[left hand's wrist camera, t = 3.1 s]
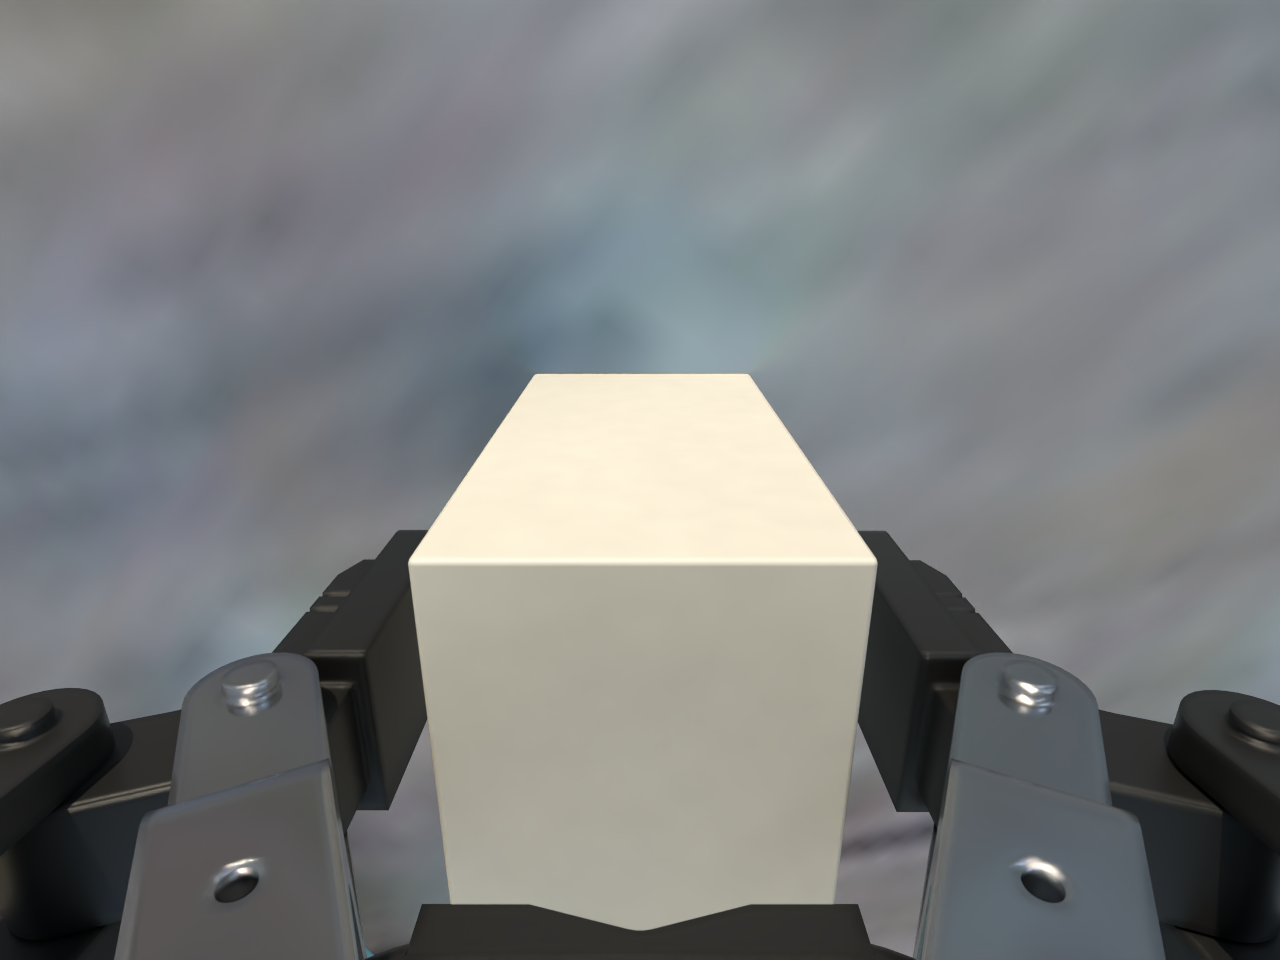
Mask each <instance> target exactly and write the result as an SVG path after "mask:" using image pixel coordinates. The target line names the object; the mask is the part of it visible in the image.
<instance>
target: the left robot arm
mask: <svg viewBox="0 0 1280 960" xmlns="http://www.w3.org/2000/svg"><path fill="white" fill-rule="evenodd" d="M428 531H429V530H399V531H397V532H396V533H395V535H394V536H393V537H392V539H391V540H390V541H389V542H388V544H387V545H386V546H385V548H384V549H383V550H382V551H381V553H380V554H379V555H378V557H377V558H376V559H375V560H363V561H361V562H359V563H357V564H356V565H354V566H352V567H351V568H349V569H347V570H346V571H344V572H342V573H340V574H339V575H337V577H336V578H335V579H334V580H333V581H332V582H331V584H330V585H329V586H328V587H327V588H326V590H325V591H324V592H323V596H322V597H319V598H318V599H317V600H316V601H315V603H314V604H313V605H312V606H311V607H310V612H306V613H305V614H304V616H303V617H302V618H301V619H300V620H299V621H298V623H297V624H296V625H295V626H294V627H293V628H292V630H291V631H290V632H289V633H288V634H287V636H286V637H285V638H284V639H283V640H282V641H281V643H280V644H279V645H278V646H277V647H276V649H275V650H274V651H273V652H272V653H267V654H260V655H255V656H251V657H247V658H243V659H240V660H237V661H234V662H232V663H229V664H227V665H225V666H222V667H220V668H218V669H216V670H215V671H213V672H211V673H209V674H208V675H206V676H205V677H203V678H202V679H201V680H199V681H198V682H197V683H196V684H195V685H194V686H193V687H192V688H191V689H190V690H189V691H188V693H187V695H186V696H185V698H184V701H183V704H182V710H177V711H173V712H168V713H163V714H158V715H152V716H147V717H142V718H137V719H132V720H127V721H121V722H116V723H111V724H110V723H109V720H108V716H107V713H106V710H105V707H104V704H103V700H102V699H101V697H100V696H99V695H98V694H97V693H95V692H93V691H90V690H87V689H80V688H63V689H54V690H48V691H42V692H38V693H34V694H30V695H26V696H23V697H20V698H17V699H14V700H11V701H9V702H6V703H3V704H1V705H0V960H1280V705H1277V704H1274V703H1272V702H1269V701H1266V700H1263V699H1260V698H1256V697H1253V696H1249V695H1245V694H1240V693H1235V692H1229V691H1219V690H1203V691H1197V692H1193V693H1190V694H1188V695H1186V696H1185V697H1184V698H1183V699H1182V701H1181V702H1180V705H1179V708H1178V712H1177V715H1176V718H1175V721H1174V724H1173V725H1172V724H1167V723H1162V722H1157V721H1151V720H1146V719H1141V718H1136V717H1131V716H1126V715H1120V714H1115V713H1111V712H1106V711H1102V710H1099V709H1098V704H1097V701H1096V698H1095V696H1094V695H1093V693H1092V691H1091V690H1090V689H1089V688H1088V687H1087V686H1086V685H1085V684H1084V683H1083V682H1082V681H1081V680H1079V679H1078V678H1077V677H1075V676H1074V675H1072V674H1071V673H1069V672H1067V671H1065V670H1064V669H1062V668H1060V667H1058V666H1055V665H1053V664H1051V663H1048V662H1046V661H1043V660H1040V659H1037V658H1033V657H1029V656H1025V655H1020V654H1013V653H1012V652H1011V650H1010V649H1009V648H1008V647H1007V646H1006V645H1005V643H1004V642H1003V641H1002V640H1001V639H1000V638H999V636H998V635H997V634H996V633H995V632H994V631H993V629H992V628H991V627H990V626H989V625H988V624H987V622H986V621H985V620H984V619H983V618H982V617H981V615H980V614H979V613H975V608H974V607H973V606H972V605H971V604H970V603H969V601H968V600H967V599H966V598H962V593H961V592H960V591H959V590H958V589H957V587H956V586H955V585H954V584H953V583H952V582H951V580H950V579H949V578H948V577H947V576H946V575H944V574H943V573H941V572H939V571H937V570H936V569H934V568H932V567H931V566H929V565H927V564H925V563H924V562H922V561H920V560H909V559H908V558H907V557H906V556H905V554H904V553H903V552H902V550H901V549H900V548H899V547H898V545H897V544H896V543H895V542H894V540H893V539H892V538H891V536H890V535H889V534H888V533H887V532H886V531H857V532H858V533H859V534H860V536H861V537H862V539H863V540H864V542H865V543H866V545H867V546H868V548H869V549H870V550H871V552H872V553H873V555H874V556H875V558H876V560H877V563H878V565H877V573H876V581H875V589H874V597H873V604H872V612H871V620H870V628H869V636H868V644H867V652H866V660H865V668H864V675H863V683H862V691H861V699H860V707H859V715H858V723H859V726H860V728H861V730H862V733H863V735H864V737H865V740H866V742H867V744H868V746H869V749H870V751H871V753H872V756H873V758H874V760H875V763H876V765H877V767H878V770H879V772H880V774H881V777H882V779H883V781H884V783H885V786H886V788H887V790H888V793H889V795H890V797H891V800H892V802H893V804H894V807H895V809H896V811H897V812H929V813H930V815H931V817H932V819H933V821H934V827H933V832H932V838H931V843H930V849H929V856H928V862H927V869H926V875H925V882H924V888H923V895H922V901H921V908H920V914H919V921H918V927H917V934H916V940H915V947H914V953H913V958H912V957H909V956H906V955H904V954H901V953H898V952H895V951H893V950H890V949H887V948H884V947H881V946H877V945H873V944H870V941H869V938H868V934H867V931H866V928H865V925H864V922H863V919H862V916H861V912H860V909H859V906H858V904H750V905H746V906H742V907H738V908H734V909H730V910H726V911H722V912H718V913H714V914H710V915H706V916H702V917H698V918H694V919H690V920H686V921H682V922H678V923H674V924H670V925H666V926H662V927H658V928H654V929H649V930H631V929H626V928H622V927H618V926H614V925H610V924H606V923H602V922H598V921H594V920H590V919H586V918H582V917H578V916H574V915H570V914H566V913H562V912H558V911H554V910H550V909H546V908H542V907H538V906H534V905H530V904H422V906H421V909H420V912H419V916H418V919H417V922H416V925H415V928H414V931H413V934H412V938H411V941H410V944H407V945H403V946H399V947H396V948H393V949H390V950H387V951H385V952H382V953H379V954H376V955H374V956H371V957H368V958H367V953H366V947H365V940H364V934H363V927H362V921H361V914H360V908H359V901H358V895H357V888H356V882H355V875H354V869H353V862H352V856H351V849H350V843H349V838H348V832H347V829H348V827H349V825H350V823H351V820H352V818H353V816H354V814H355V812H356V810H389V808H390V805H391V803H392V801H393V798H394V796H395V793H396V791H397V789H398V786H399V784H400V782H401V779H402V777H403V775H404V772H405V770H406V768H407V765H408V763H409V761H410V758H411V756H412V753H413V751H414V749H415V746H416V744H417V742H418V739H419V737H420V735H421V732H422V730H423V728H424V725H425V723H426V721H427V711H426V703H425V695H424V687H423V679H422V671H421V663H420V655H419V647H418V639H417V631H416V623H415V615H414V607H413V599H412V591H411V583H410V575H409V567H408V562H409V559H410V557H411V556H412V554H413V553H414V551H415V550H416V548H417V547H418V546H419V544H420V543H421V541H422V540H423V538H424V537H425V535H426V534H427V532H428Z"/></svg>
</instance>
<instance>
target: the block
mask: <svg viewBox="0 0 1280 960" xmlns="http://www.w3.org/2000/svg"><path fill="white" fill-rule="evenodd" d="M877 565H878V563H877V560H876V558H875V556H874V555H873V553H872V552H871V550H870V549H869V548H868V546H867V545H866V543H865V542H864V540H863V539H862V537H861V536H860V534H859V533H858V532H857V530H856V529H855V527H854V526H853V524H852V523H851V521H850V520H849V519H848V517H847V516H846V514H845V513H844V511H843V510H842V508H841V507H840V506H839V504H838V503H837V501H836V500H835V498H834V497H833V495H832V494H831V493H830V491H829V490H828V488H827V487H826V485H825V484H824V482H823V481H822V480H821V478H820V477H819V475H818V474H817V472H816V471H815V469H814V468H813V467H812V465H811V464H810V462H809V461H808V459H807V458H806V456H805V455H804V454H803V452H802V451H801V449H800V448H799V446H798V445H797V443H796V442H795V441H794V439H793V438H792V436H791V435H790V433H789V432H788V430H787V429H786V428H785V426H784V425H783V423H782V422H781V420H780V419H779V417H778V416H777V415H776V413H775V412H774V410H773V409H772V407H771V406H770V404H769V403H768V402H767V400H766V399H765V397H764V396H763V394H762V393H761V391H760V390H759V389H758V387H757V386H756V384H755V383H754V381H753V380H752V378H751V377H750V376H749V375H748V374H536V375H534V376H533V378H532V379H531V381H530V382H529V384H528V385H527V387H526V388H525V390H524V391H523V393H522V394H521V396H520V397H519V398H518V400H517V401H516V403H515V404H514V406H513V407H512V409H511V410H510V412H509V413H508V415H507V416H506V418H505V419H504V421H503V422H502V423H501V425H500V426H499V428H498V429H497V431H496V432H495V434H494V435H493V437H492V438H491V440H490V441H489V443H488V444H487V446H486V447H485V448H484V450H483V451H482V453H481V454H480V456H479V457H478V459H477V460H476V462H475V463H474V465H473V466H472V468H471V469H470V471H469V472H468V473H467V475H466V476H465V478H464V479H463V481H462V482H461V484H460V485H459V487H458V488H457V490H456V491H455V493H454V494H453V496H452V497H451V498H450V500H449V501H448V503H447V504H446V506H445V507H444V509H443V510H442V512H441V513H440V515H439V516H438V518H437V519H436V521H435V522H434V523H433V525H432V526H431V528H430V529H429V531H428V532H427V534H426V535H425V537H424V538H423V540H422V541H421V543H420V544H419V546H418V547H417V548H416V550H415V551H414V553H413V554H412V556H411V557H410V559H409V562H408V567H409V575H410V583H411V591H412V599H413V607H414V615H415V623H416V631H417V639H418V647H419V655H420V663H421V671H422V679H423V687H424V695H425V703H426V711H427V719H428V727H429V735H430V743H431V751H432V759H433V767H434V775H435V783H436V791H437V799H438V807H439V815H440V823H441V831H442V839H443V847H444V855H445V863H446V871H447V879H448V887H449V895H450V903H451V904H530V905H534V906H538V907H542V908H546V909H550V910H554V911H558V912H562V913H566V914H570V915H574V916H578V917H582V918H586V919H590V920H594V921H598V922H602V923H606V924H610V925H614V926H618V927H622V928H626V929H631V930H649V929H654V928H658V927H662V926H666V925H670V924H674V923H678V922H682V921H686V920H690V919H694V918H698V917H702V916H706V915H710V914H714V913H718V912H722V911H726V910H730V909H734V908H738V907H742V906H746V905H750V904H835V896H836V888H837V880H838V872H839V864H840V857H841V849H842V841H843V833H844V825H845V817H846V809H847V801H848V794H849V786H850V778H851V770H852V762H853V754H854V746H855V738H856V731H857V723H858V715H859V707H860V699H861V691H862V683H863V675H864V668H865V660H866V652H867V644H868V636H869V628H870V620H871V612H872V604H873V597H874V589H875V581H876V573H877Z"/></svg>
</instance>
